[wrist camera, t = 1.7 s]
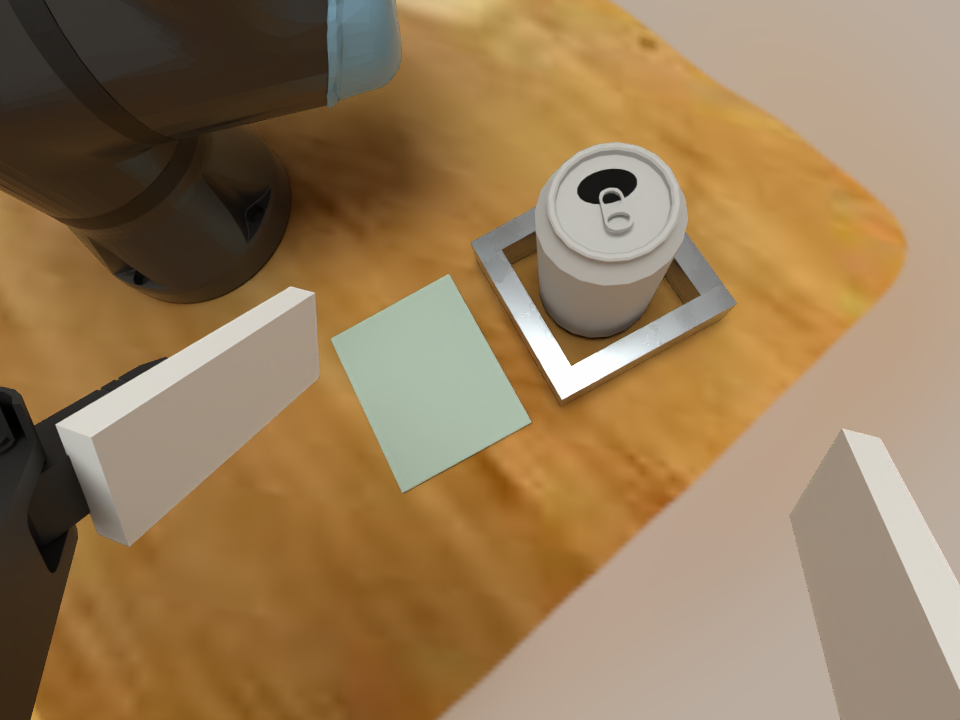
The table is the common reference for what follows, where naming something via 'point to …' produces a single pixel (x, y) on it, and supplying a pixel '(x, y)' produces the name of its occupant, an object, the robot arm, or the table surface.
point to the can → (606, 237)
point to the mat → (429, 383)
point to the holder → (567, 382)
